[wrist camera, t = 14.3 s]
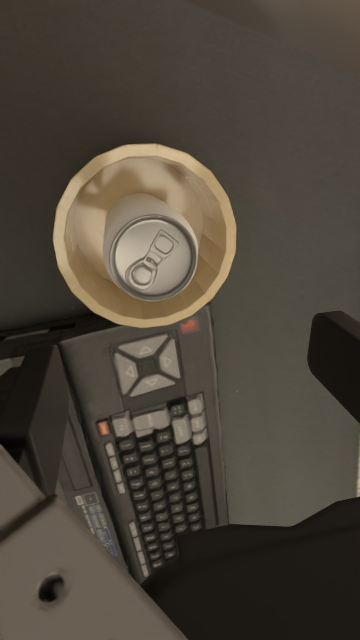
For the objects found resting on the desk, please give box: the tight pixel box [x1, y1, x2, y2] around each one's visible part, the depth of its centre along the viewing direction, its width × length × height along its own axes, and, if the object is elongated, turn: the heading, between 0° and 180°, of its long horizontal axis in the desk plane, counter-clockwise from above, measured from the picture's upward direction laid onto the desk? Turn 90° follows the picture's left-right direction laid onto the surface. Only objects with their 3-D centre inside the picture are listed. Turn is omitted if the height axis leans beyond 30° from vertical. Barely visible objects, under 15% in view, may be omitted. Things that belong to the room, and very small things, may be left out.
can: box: [103, 193, 198, 302], centre depth 27 cm, size 6×6×12 cm
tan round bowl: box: [53, 143, 236, 328], centre depth 29 cm, size 14×14×8 cm
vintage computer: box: [0, 302, 229, 585], centre depth 41 cm, size 43×29×8 cm
